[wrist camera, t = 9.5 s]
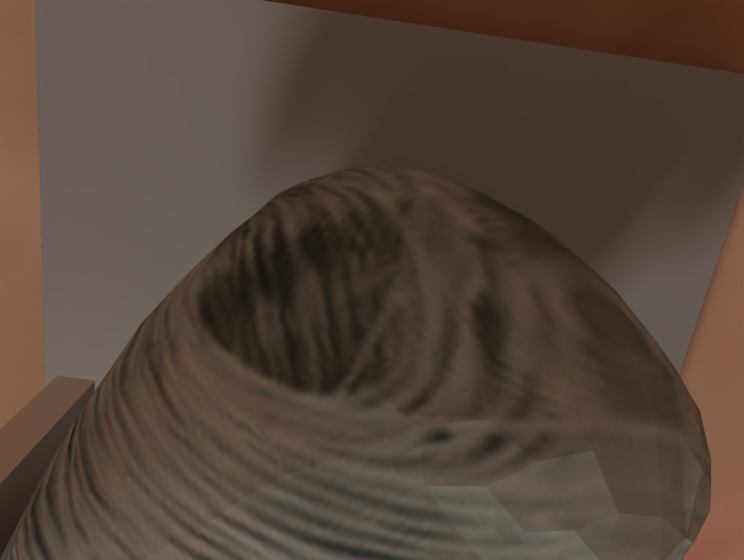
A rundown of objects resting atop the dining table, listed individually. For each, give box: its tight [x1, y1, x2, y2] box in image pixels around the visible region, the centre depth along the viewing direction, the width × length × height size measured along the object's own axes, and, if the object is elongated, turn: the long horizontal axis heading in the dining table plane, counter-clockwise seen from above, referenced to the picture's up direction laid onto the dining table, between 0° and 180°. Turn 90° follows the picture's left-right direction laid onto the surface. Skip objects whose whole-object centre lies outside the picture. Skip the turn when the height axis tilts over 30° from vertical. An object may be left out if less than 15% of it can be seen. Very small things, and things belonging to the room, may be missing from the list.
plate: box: [35, 0, 744, 390], centre depth 20 cm, size 18×18×2 cm
